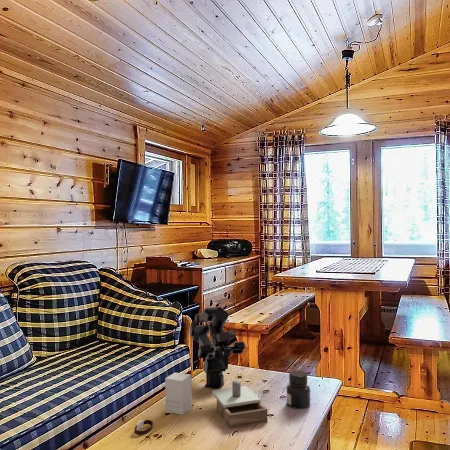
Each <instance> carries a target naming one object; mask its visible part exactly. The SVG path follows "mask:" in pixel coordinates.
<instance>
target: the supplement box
mask: <svg viewBox="0 0 450 450" xmlns="http://www.w3.org/2000/svg"><path fill="white" fill-rule="evenodd" d="M164 382H165V385H164V386H165V390H164V391H165V413H171V414H175V415H182V416H183V415H185V414H186V413H187V412H188V411H189V410H190V409H192V407H193V406H192V404H193V403H192V402H193V400H192V397H193V396H192V374H188V373H183V372H182V373H181V372H173V373H172V374H170V375H168V376H167V377H165V379H164Z"/></svg>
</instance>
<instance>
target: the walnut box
mask: <svg viewBox="0 0 450 450" xmlns="http://www.w3.org/2000/svg"><path fill="white" fill-rule="evenodd" d="M216 412H217V414H218V416H220V418H221V419H222V420H223V422H224V423H225V424H226V426H227V428H229V429H236V428H241V427H247V426H253V425H258V424H264V423H268V421H269V420H268V408H267V407H266V406H265V405H264V404H263V403H262V402H258V403H251V404H245V405H238V406H232V407H225V408H224V407H223V406H222V405H221V404H220V402H219V401H218V400H217V399H216Z"/></svg>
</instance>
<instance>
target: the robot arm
mask: <svg viewBox="0 0 450 450" xmlns="http://www.w3.org/2000/svg"><path fill="white" fill-rule="evenodd" d="M228 318H229V313H228V312H227V311H226V309H224V308H222V306H216V307H213V306H212V307H205V308H204V309H203V310H202V312H200V313H196V314H195V316H194V319H193V321H192V322H191V323H190V326H189V336H190V337H191V339H192V340H193V341H195V342H197V343H198V344H199V347H198V348H199V349H198V352H197V355H198V359H205V360H204V362H203V365H202V370H203V372H204V373H205V375H206V376H205V378H206V383H205V384H204V387H205V388H210V389H211V388H212V389H215V390H219V389H221V387H223V386H224V385H225V382H224V381H225V380H224V374H223V372H226V371H227V370H228V369H229V361H230V360H229V358H230V357H231V355H232V354H234V355H240V354H243V352H244V350H245V349H246V344H245V342H244V341H243V340H242V341H241V340H239V341H234V342H233V345H229V344H231V343H230V341H232V339H235V337H236V336H235V331H234V330H233V329H231V330H228V331H225V330H224V326H225V325H226V323H227V320H228ZM208 322H209V323H208ZM199 323H205V324H203V325H201V324H200V325H198V324H199ZM209 333H210V337H211V340H210V338H209Z"/></svg>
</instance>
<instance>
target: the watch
mask: <svg viewBox="0 0 450 450" xmlns="http://www.w3.org/2000/svg"><path fill="white" fill-rule="evenodd" d="M145 425H149V427H148V428H146V429H144V430H141V429H142V428H143V426H145ZM153 425H154V422H153V420H151V419H145V420H143V419H140V420H138V422H137V424H136V425H135V426H134V431H133V432H134V434H135V435H136V436H143V435H146V434H147V433H149V432H150V431H151V430H152V428H153Z"/></svg>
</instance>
